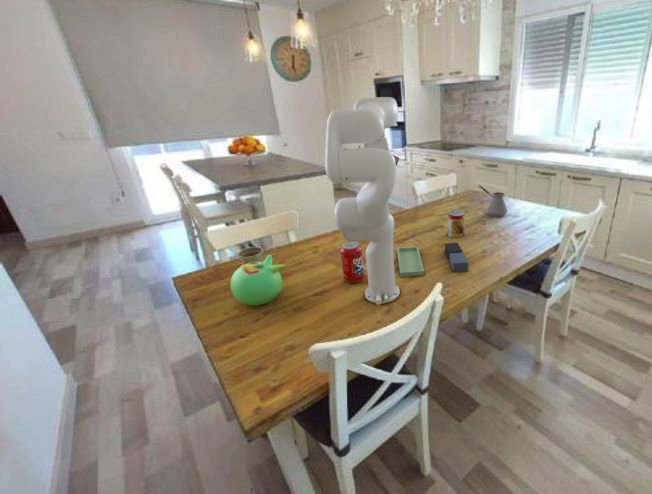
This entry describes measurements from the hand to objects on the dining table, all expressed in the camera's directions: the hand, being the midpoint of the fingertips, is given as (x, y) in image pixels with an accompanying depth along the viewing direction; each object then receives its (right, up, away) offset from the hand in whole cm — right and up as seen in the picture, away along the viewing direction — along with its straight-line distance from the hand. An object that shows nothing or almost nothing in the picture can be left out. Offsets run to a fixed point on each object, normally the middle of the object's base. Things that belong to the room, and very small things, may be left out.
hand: (377, 180), depth 124 cm
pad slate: (+32, -34, +11) cm, 49 cm away
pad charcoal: (+31, -30, +20) cm, 48 cm away
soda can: (-10, -39, +3) cm, 40 cm away
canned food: (+35, -21, +40) cm, 57 cm away
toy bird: (-40, -45, -9) cm, 61 cm away
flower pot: (-53, -36, +10) cm, 65 cm away
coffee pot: (+59, -8, +69) cm, 92 cm away
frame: (+12, -33, +14) cm, 38 cm away
